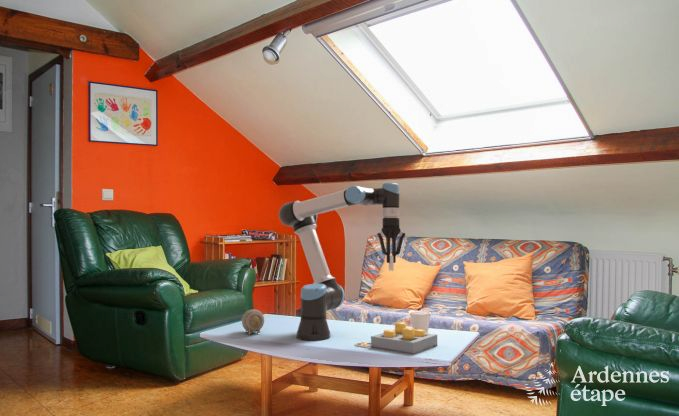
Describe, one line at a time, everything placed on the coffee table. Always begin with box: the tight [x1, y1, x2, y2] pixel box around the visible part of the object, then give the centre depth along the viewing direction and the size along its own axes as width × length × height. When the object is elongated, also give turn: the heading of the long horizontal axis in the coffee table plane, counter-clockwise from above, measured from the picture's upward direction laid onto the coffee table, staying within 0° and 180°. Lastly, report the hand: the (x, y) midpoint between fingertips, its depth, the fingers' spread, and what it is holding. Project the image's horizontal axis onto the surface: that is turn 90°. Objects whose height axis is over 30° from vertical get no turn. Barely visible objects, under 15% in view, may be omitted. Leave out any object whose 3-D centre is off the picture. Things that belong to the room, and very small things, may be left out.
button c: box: [394, 321, 407, 334], centre depth 223 cm, size 5×5×5 cm
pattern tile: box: [354, 341, 371, 349], centre depth 218 cm, size 6×6×1 cm
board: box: [370, 329, 438, 355], centre depth 217 cm, size 20×20×4 cm
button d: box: [414, 329, 425, 337], centre depth 218 cm, size 5×5×5 cm
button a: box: [383, 329, 395, 338], centre depth 216 cm, size 5×5×5 cm
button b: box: [402, 327, 414, 341], centre depth 211 cm, size 5×5×5 cm
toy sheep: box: [241, 308, 265, 335], centre depth 245 cm, size 11×17×11 cm, turn 24°
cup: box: [408, 310, 432, 334], centre depth 236 cm, size 10×10×11 cm
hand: (391, 270), depth 232 cm, fingers closed
